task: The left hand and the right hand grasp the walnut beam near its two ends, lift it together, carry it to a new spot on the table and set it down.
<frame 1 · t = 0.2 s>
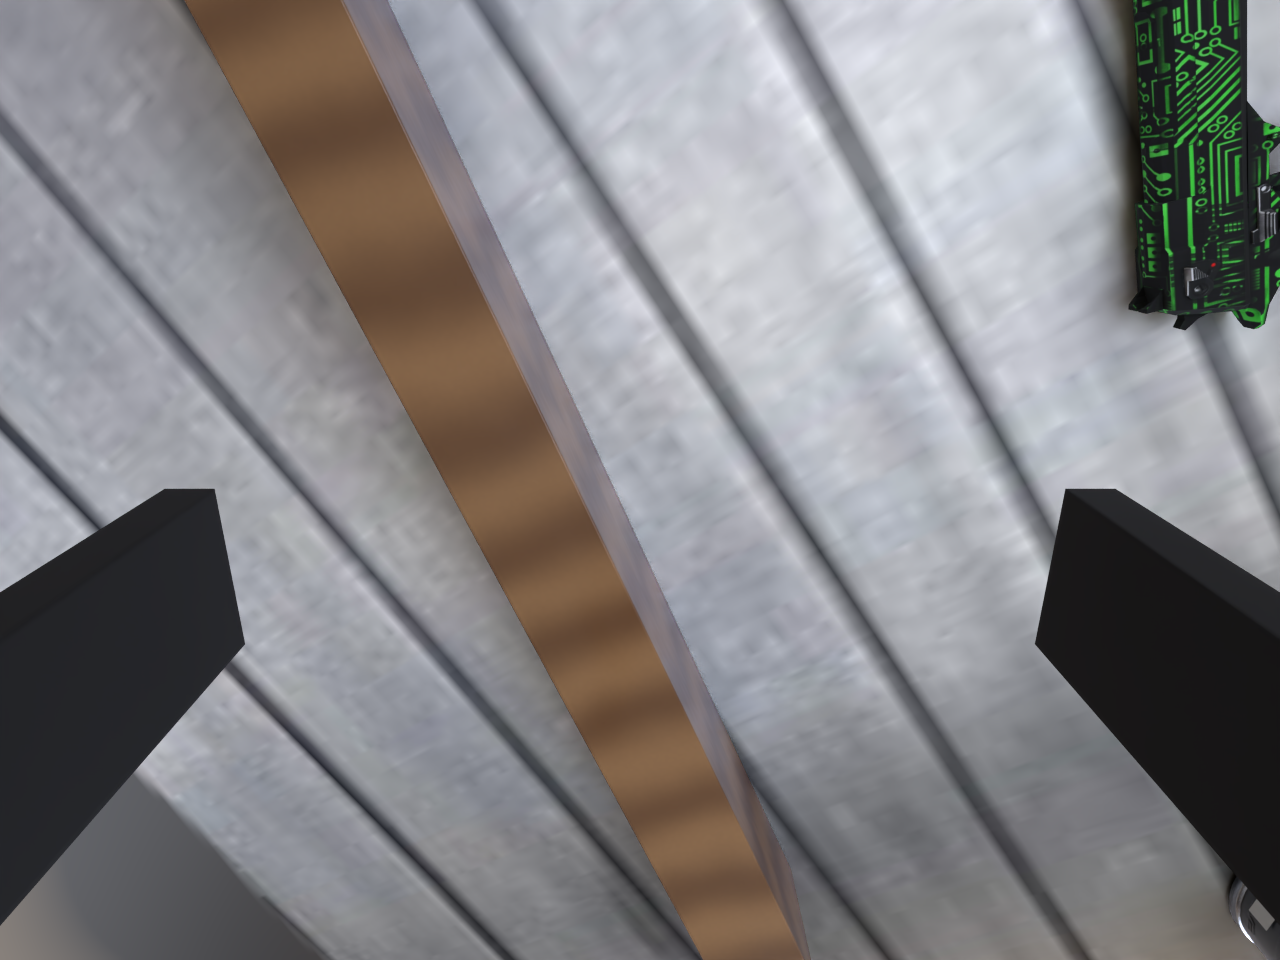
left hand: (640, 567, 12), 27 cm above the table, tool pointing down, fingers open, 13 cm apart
beam: (551, 467, 41), on the table
handgun: (1266, 140, 36), on the table
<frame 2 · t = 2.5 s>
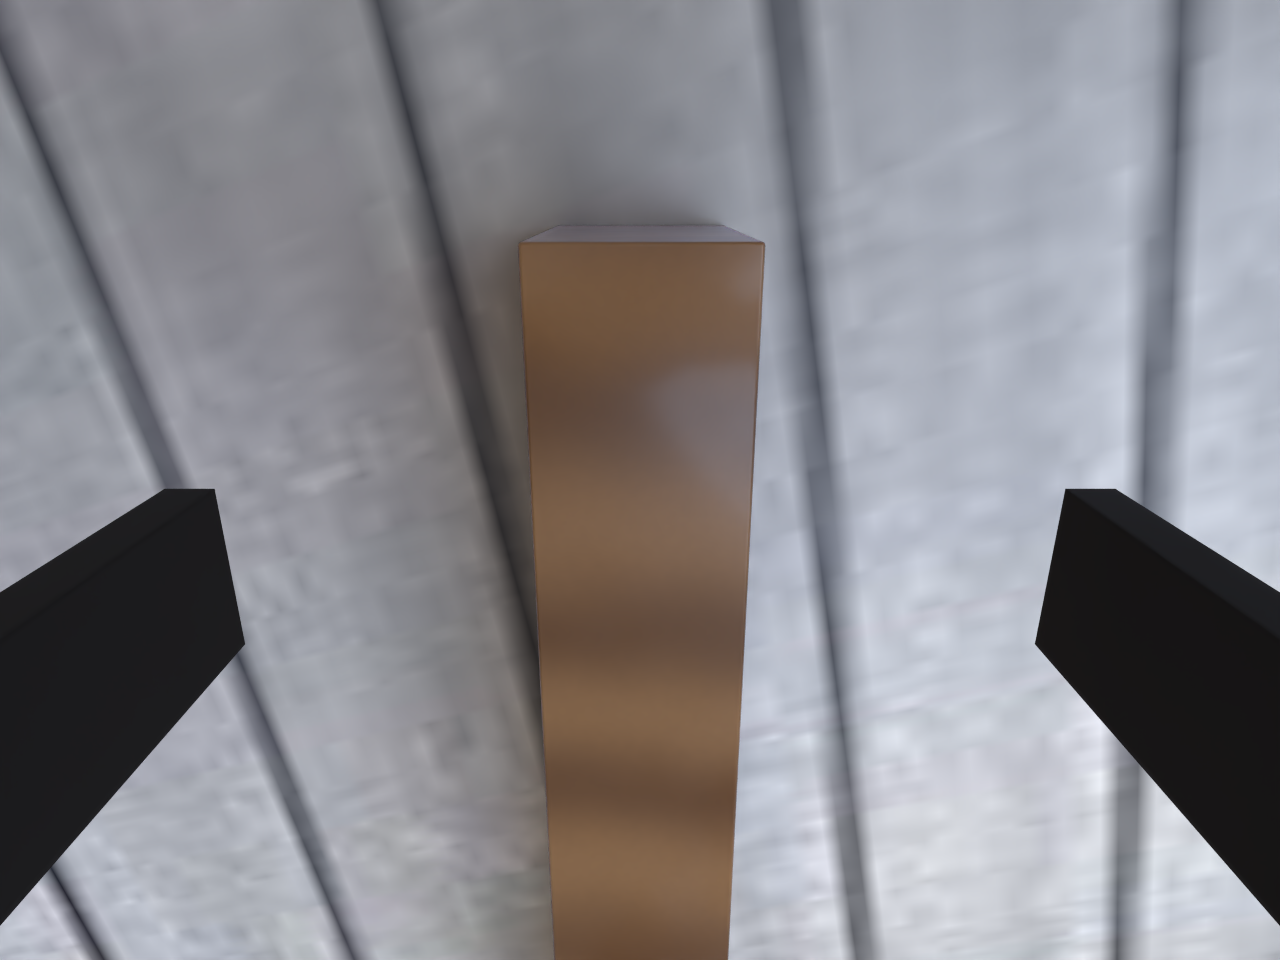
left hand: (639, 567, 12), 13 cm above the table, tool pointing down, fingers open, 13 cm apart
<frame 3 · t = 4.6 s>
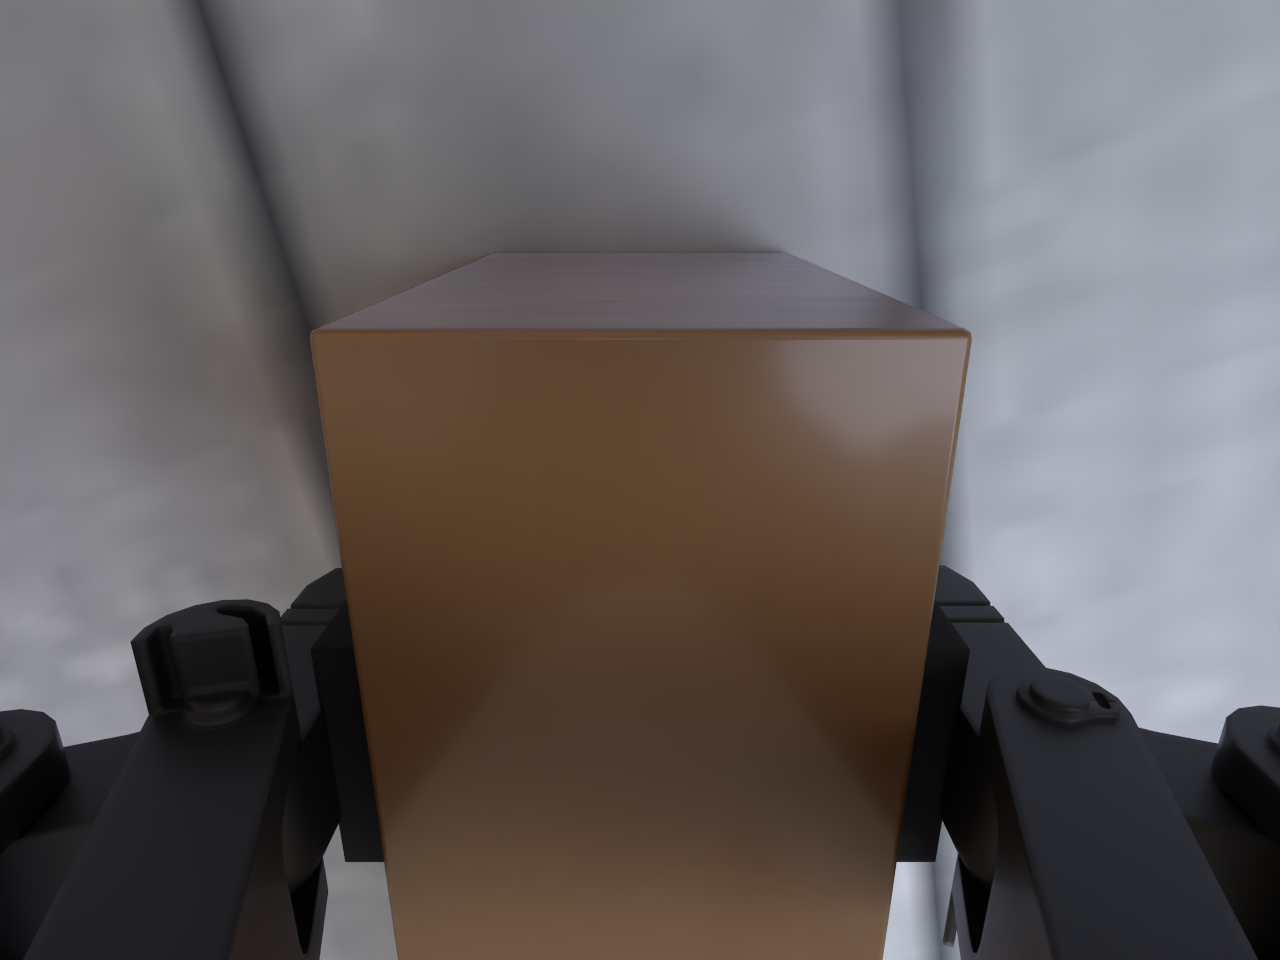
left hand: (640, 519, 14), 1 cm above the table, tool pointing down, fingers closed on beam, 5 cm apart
when the left hand's fingers open (2 cm above the table, at t = 9.6 s): beam drops 1 cm, on the table.
when the right hand's fingers open (4 cm above the table, at t = 9.7 s): beam stays where it is, on the table.
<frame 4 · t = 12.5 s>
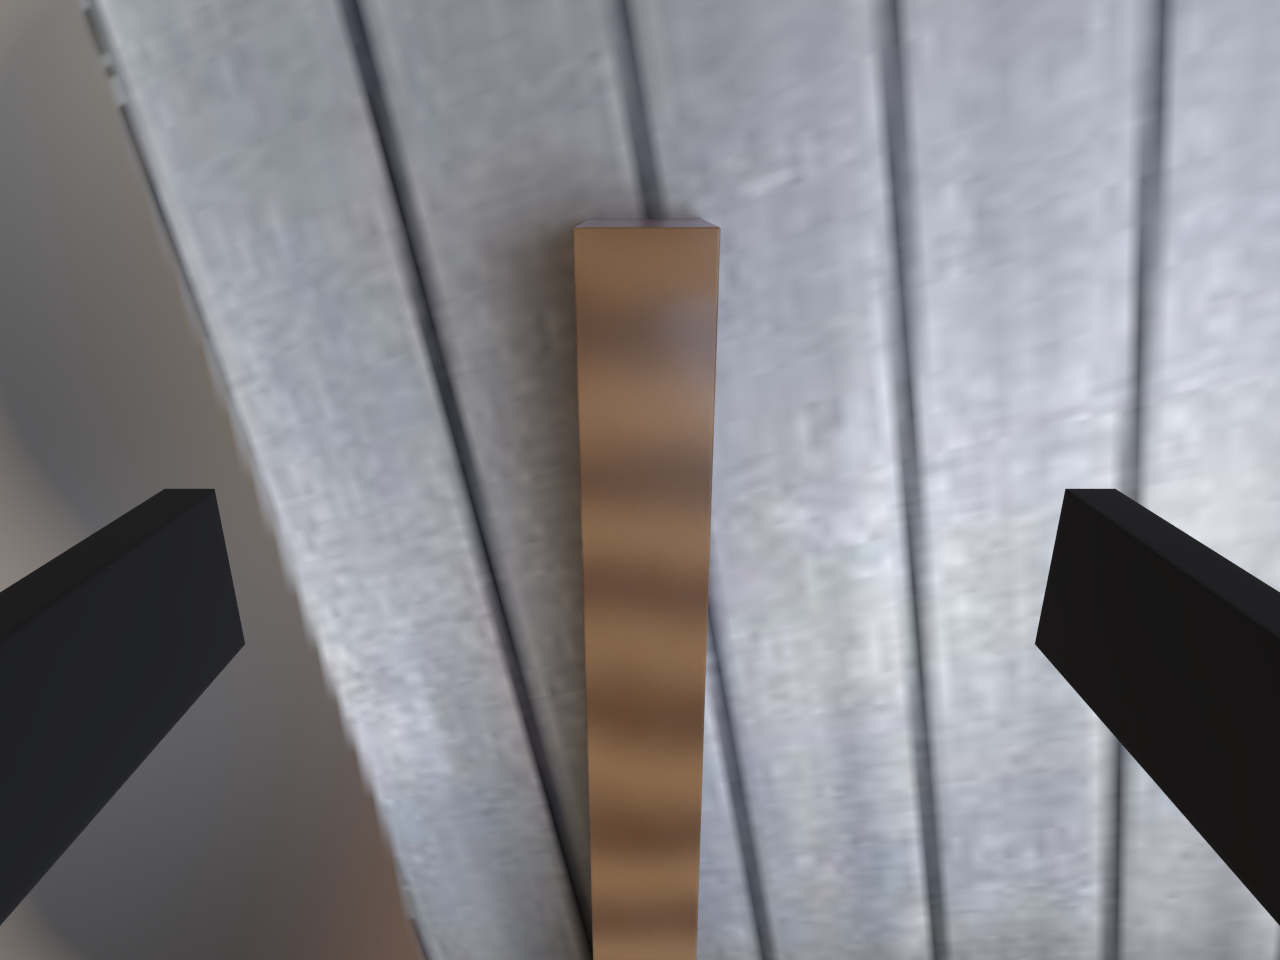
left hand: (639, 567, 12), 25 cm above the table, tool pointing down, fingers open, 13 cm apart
beam: (644, 787, 45), on the table
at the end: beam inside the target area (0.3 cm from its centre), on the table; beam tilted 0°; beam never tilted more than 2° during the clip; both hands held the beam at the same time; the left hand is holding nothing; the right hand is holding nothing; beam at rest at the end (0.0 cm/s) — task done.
